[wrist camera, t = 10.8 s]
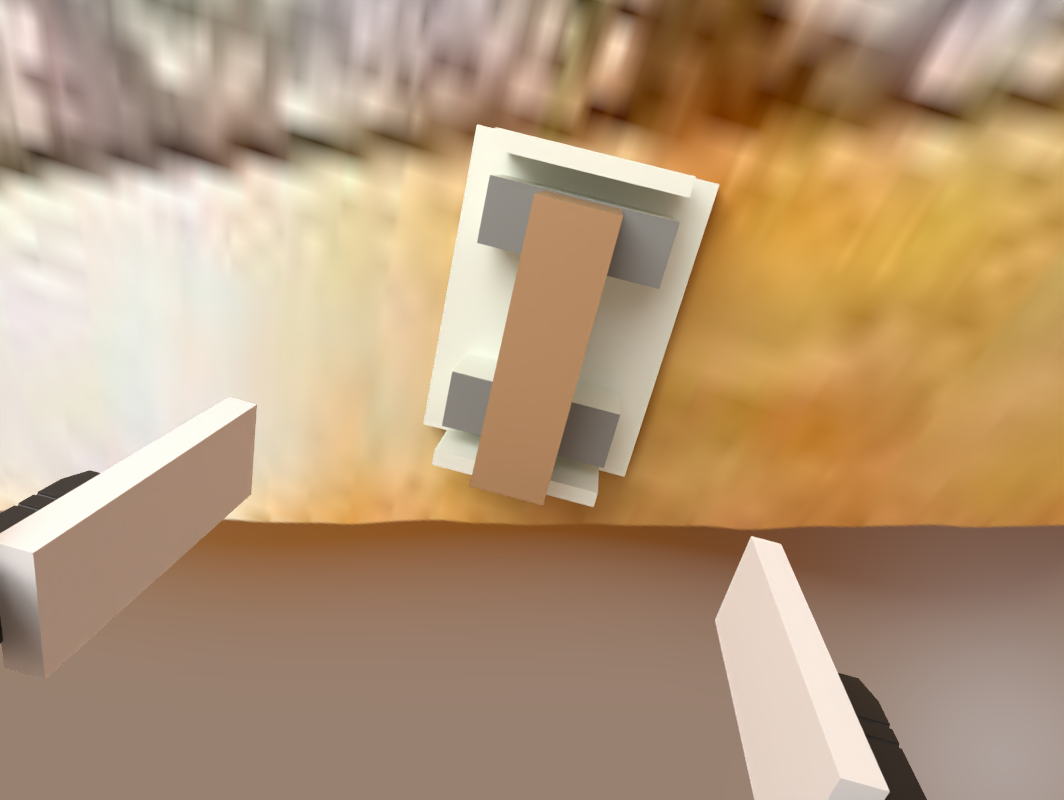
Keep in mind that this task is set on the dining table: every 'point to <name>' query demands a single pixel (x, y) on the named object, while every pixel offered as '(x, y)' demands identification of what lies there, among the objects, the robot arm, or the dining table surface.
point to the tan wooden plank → (544, 343)
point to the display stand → (622, 316)
